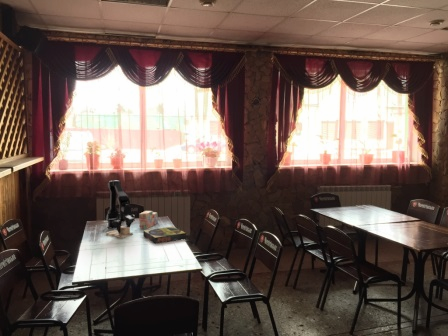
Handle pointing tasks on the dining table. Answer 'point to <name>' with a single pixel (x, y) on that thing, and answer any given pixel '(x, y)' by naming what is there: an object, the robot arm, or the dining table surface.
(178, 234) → the board game box
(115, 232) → the board
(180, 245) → the dining table surface
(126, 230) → the block
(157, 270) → the dining table surface
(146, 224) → the stack of blocks
